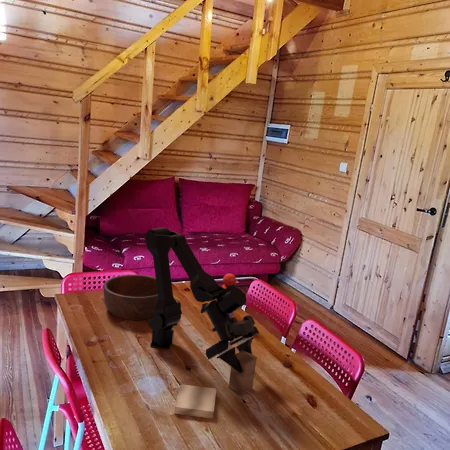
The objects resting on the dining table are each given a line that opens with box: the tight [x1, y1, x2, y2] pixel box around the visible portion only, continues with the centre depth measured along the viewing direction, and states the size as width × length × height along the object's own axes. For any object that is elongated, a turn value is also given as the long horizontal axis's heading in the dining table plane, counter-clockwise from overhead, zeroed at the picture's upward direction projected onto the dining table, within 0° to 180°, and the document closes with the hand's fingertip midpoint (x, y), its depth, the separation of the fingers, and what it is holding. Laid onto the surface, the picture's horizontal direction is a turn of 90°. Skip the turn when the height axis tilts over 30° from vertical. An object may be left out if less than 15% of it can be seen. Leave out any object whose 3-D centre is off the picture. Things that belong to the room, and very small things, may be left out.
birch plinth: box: [173, 384, 217, 419], centre depth 114 cm, size 10×10×2 cm
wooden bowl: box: [102, 274, 158, 321], centre depth 167 cm, size 25×25×10 cm
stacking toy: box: [221, 273, 237, 318], centre depth 166 cm, size 8×8×19 cm
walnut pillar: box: [228, 350, 257, 396], centre depth 123 cm, size 5×5×10 cm
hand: (247, 369), depth 122 cm, fingers closed on walnut pillar, 5 cm apart
